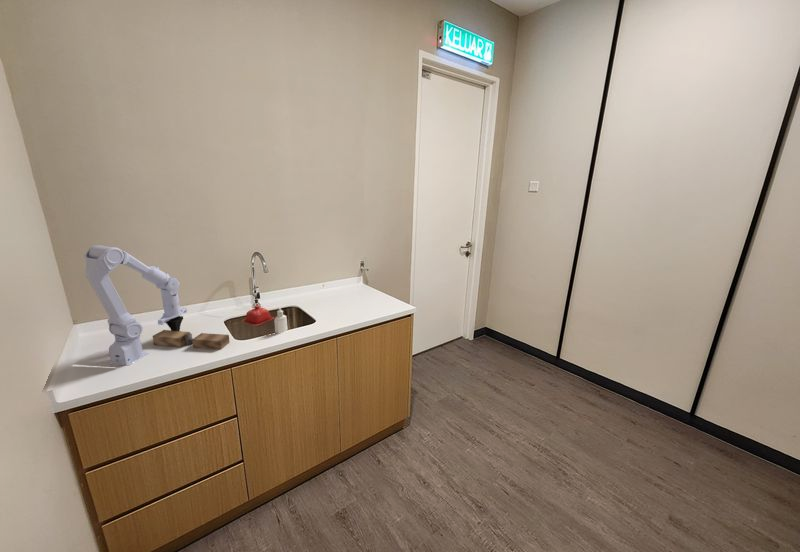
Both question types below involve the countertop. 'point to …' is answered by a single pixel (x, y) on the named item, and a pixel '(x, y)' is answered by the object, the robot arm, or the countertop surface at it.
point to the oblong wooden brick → (210, 341)
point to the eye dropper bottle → (280, 322)
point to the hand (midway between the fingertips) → (176, 333)
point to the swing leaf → (172, 338)
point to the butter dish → (257, 316)
